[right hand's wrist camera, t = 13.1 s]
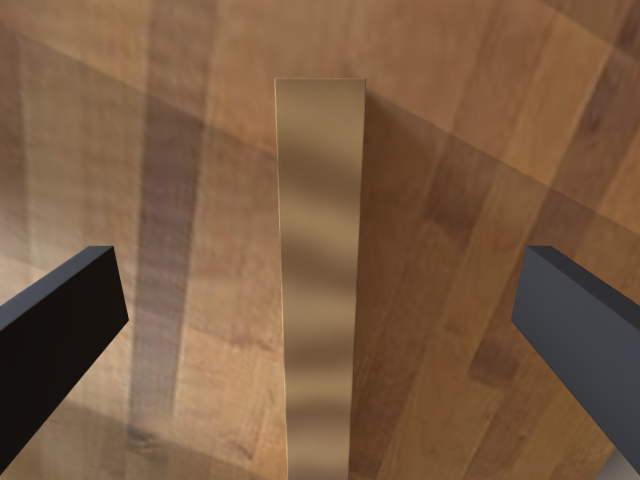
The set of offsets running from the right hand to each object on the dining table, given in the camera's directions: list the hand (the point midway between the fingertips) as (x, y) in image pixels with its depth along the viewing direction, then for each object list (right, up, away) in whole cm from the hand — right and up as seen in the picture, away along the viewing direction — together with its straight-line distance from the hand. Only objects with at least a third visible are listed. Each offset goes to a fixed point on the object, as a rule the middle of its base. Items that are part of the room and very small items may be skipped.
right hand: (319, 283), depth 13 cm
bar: (0, -18, +30) cm, 35 cm away
